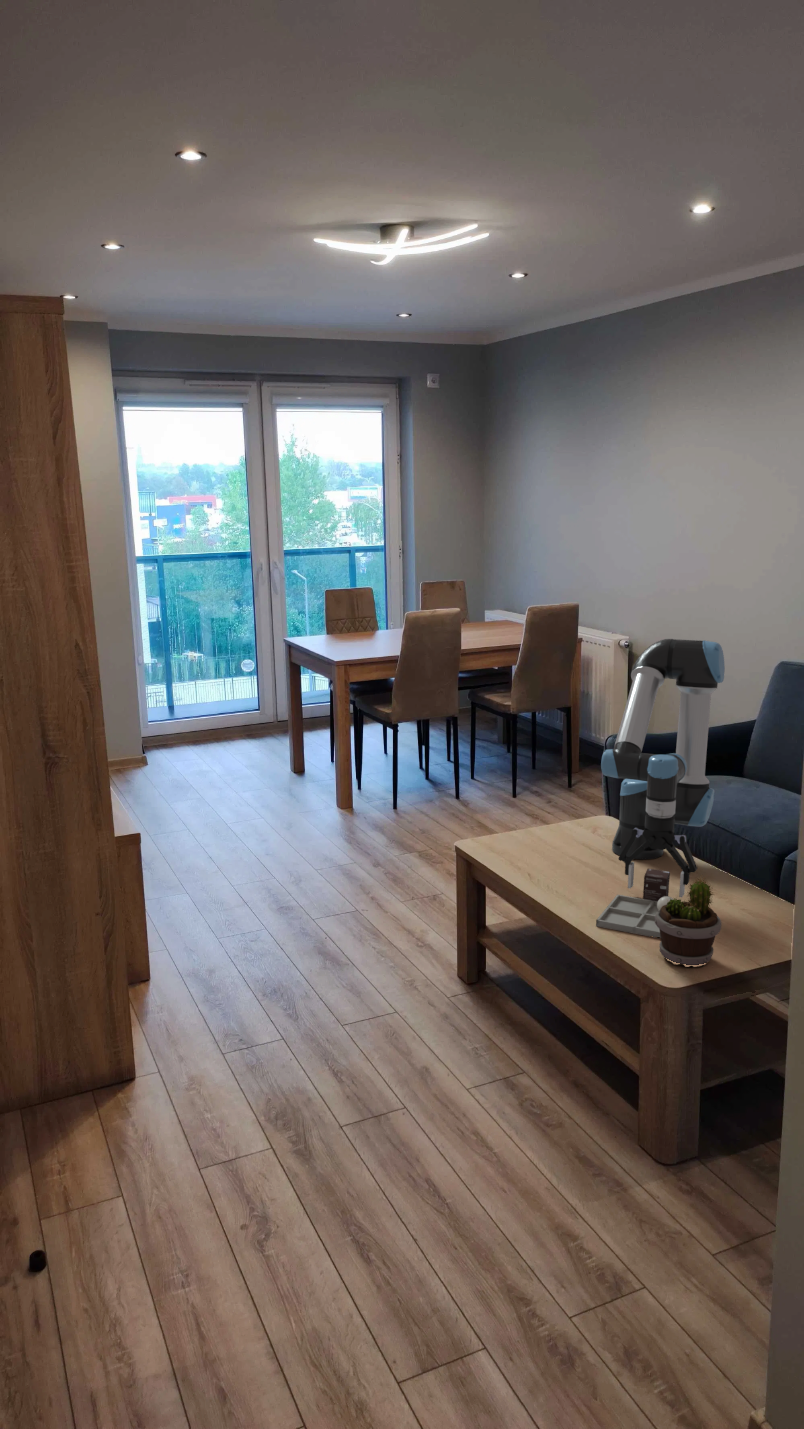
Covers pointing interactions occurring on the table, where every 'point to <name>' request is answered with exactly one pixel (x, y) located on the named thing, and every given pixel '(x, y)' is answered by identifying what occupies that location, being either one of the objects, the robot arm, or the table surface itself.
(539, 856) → the table surface
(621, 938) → the table surface
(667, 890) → the box
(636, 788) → the robot arm
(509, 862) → the table surface
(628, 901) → the egg tray
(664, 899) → the egg
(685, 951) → the flowerpot
